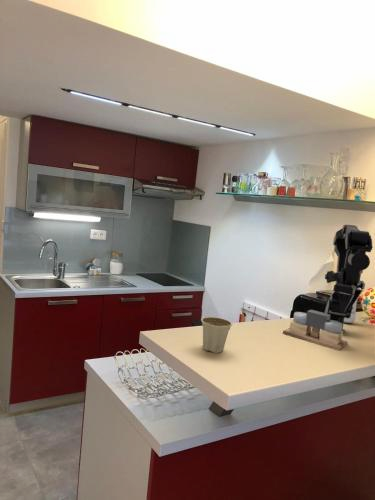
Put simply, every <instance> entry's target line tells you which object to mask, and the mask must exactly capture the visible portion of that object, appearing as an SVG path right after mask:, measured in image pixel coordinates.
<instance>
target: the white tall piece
mask: <svg viewBox="0 0 375 500" xmlns="http://www.w3.org/2000/svg"><path fill="white" fill-rule="evenodd" d="M359 289H360V290H361V288H359ZM358 298H359V297H358ZM358 298H357V300H356V301H355V303H354V304H353V309H352V312H351V316H350V318H345V319H344V324H353V323H355V322H356V320H357V314H356V313H357V304H358Z"/></svg>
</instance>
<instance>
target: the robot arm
mask: <svg viewBox="0 0 375 500" xmlns="http://www.w3.org/2000/svg"><path fill="white" fill-rule="evenodd" d="M332 245H333V246H334V248H333V250H334V253H335V254H336V256H337V260H336V261H337V262H336V272H335V271H334V270H329V271H326V272H327V273H326V274H325V275H324V279H325V280H326V283H327V284H331V283H333V282H334V283H335V284H333V293H332V294H331V295H330V296H329V299H328V300H327V302H326V303H327V304H326V306H325V312H324V313H326V314H330V319H329V320H334V321H338V322H340V323H342V324H343V325H342V331H343V333H345V332H346V329H344V324H345V322H344V319H345V318H350V316H351V312H352V309H353V304H354V303H355V301H356V300H357V298H359V297H360V296H361V294H362V293H363V291H364V290H365V288H366V287H365V286H366V283H365V282H364V281H363V280H361V278H362V277H361V276H362V274H363V273H364V271H365V270H366V269H368V268H369V266H370V263H371V261H370V257H369V256H368V255H367V253H371V252H372V250H373V239H372V236H371V234H370V232H369V231H365V230H360V229H359V228H358V226H357V225H353V224H344V225H343V226H342V228H340V229H339V230H338V231H336V232H335V235H334V238H333V243H332ZM359 288H360V289H359ZM357 301H358V300H357Z"/></svg>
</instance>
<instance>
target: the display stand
mask: <svg viewBox="0 0 375 500" xmlns="http://www.w3.org/2000/svg"><path fill="white" fill-rule="evenodd" d="M282 334H284V335H286V336H290V337H292V338H293V337H294V338H297V339H301V340H303V341H305V342H306V341H307V342H311V343H314V344H316V345H320V346H323V347H327V348H330V349H333V350H335V351H336V350H338V351H340V350H342V349H343V348H344V347H345V346H346V345H348V340H344V339H343V334H344V332H343V331H341V333H340V334H335V333H330V332H327V331H324V330H322V329H318V328H314V327H311V326H307V325H301V324H297V323H295V322H293V320H292V321H290V323H289V327H288V328H286V329H284V330H282Z"/></svg>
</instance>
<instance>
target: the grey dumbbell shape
mask: <svg viewBox="0 0 375 500" xmlns="http://www.w3.org/2000/svg"><path fill="white" fill-rule="evenodd" d="M329 319H330V314H326V312H321V311H318V310H314V309H309V310H307V311H306V312H302V311H295V312H294V313H293V319H292V321H293V322H295V323H297V324H301V325H307V326H311V327H314V328H318V329H320V330H324V331H327V332H330V333H335V334H340V333H341V331H342V325H343V326H344V324H342V323H340V322H338V321H334V320H329Z"/></svg>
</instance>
